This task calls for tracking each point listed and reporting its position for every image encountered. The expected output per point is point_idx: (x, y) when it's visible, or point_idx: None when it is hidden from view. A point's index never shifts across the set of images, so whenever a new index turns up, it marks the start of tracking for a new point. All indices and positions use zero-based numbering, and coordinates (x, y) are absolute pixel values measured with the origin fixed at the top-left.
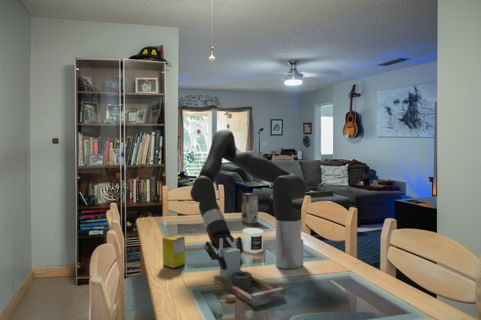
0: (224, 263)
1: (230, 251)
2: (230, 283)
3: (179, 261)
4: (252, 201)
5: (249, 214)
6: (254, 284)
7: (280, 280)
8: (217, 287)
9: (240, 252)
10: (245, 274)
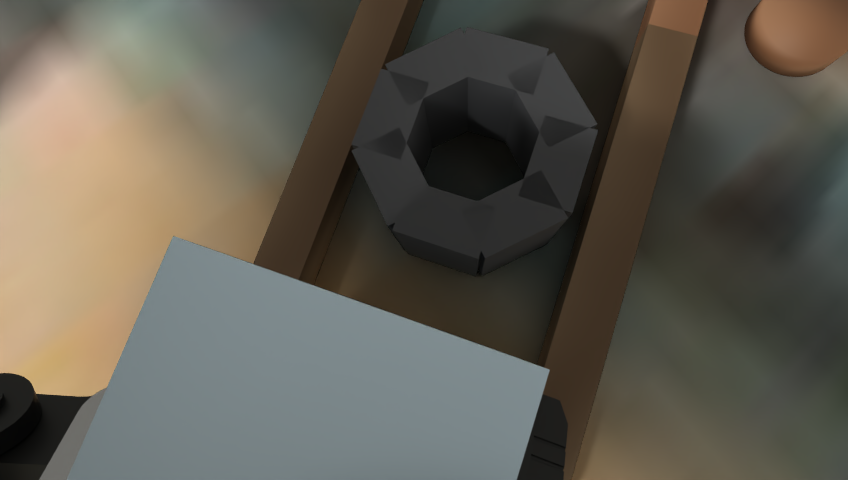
0: None
1: (436, 335)
2: (604, 206)
3: None
4: None
5: None
6: None
7: (156, 15)
8: (665, 338)
9: (52, 408)
10: (412, 135)
